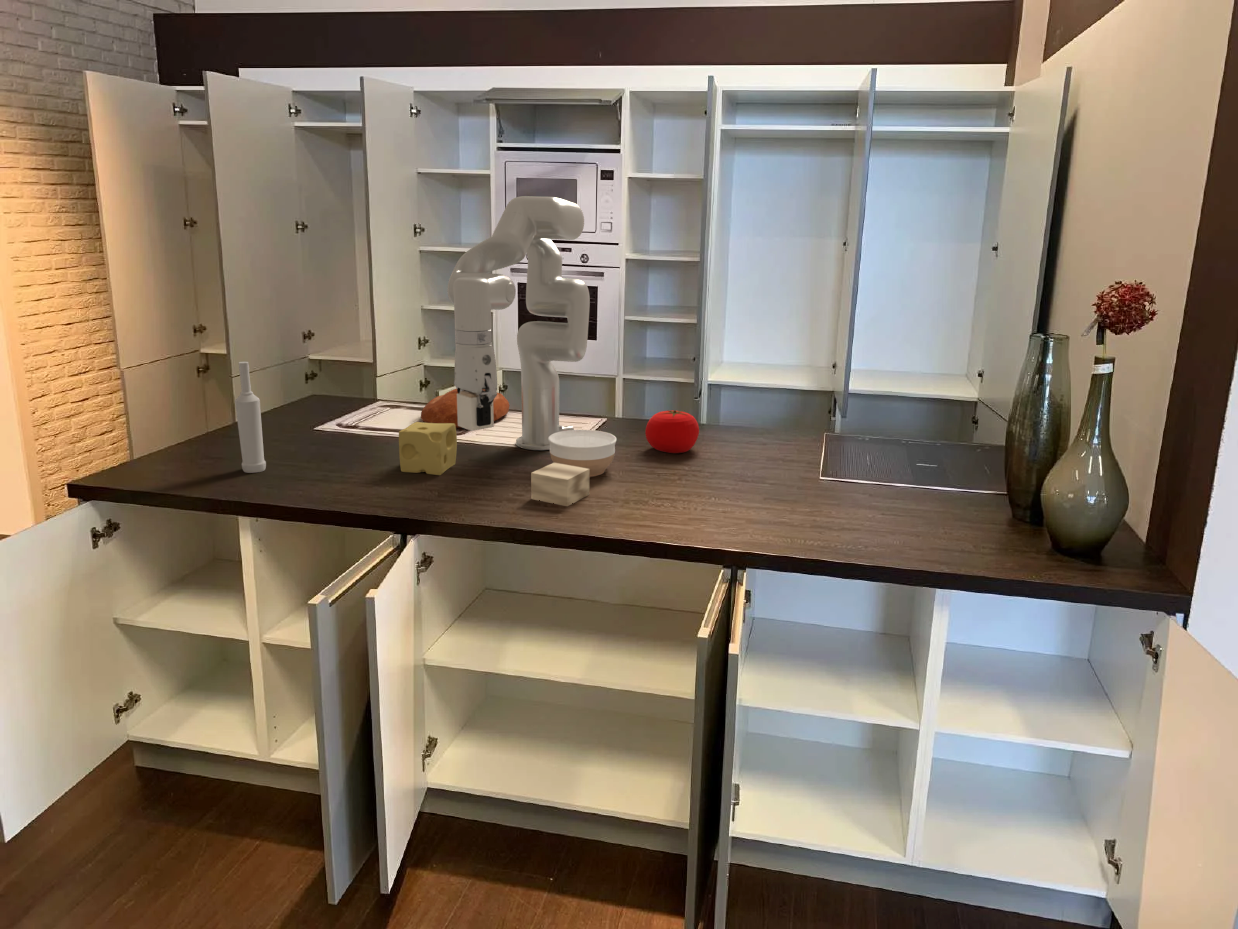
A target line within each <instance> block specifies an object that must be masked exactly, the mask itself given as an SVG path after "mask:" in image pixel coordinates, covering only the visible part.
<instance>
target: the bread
mask: <svg viewBox="0 0 1238 929" xmlns="http://www.w3.org/2000/svg"><path fill="white" fill-rule="evenodd" d="M483 390H484V389H483ZM484 391H485V390H484ZM457 394H458V392H457V388H456V387H455V388H454V389H451V390H450V391H448V392H446V393H444V394H441V395H438V396H435V397H434V398H432V399H430V400H429V401H428V402H427V403H426V404H425V406H424V407H423V408H422V410H421V412H420V419H421V421H422V422H423V423H454V424H455V427H456V429H463V428H462V427H460V426H458V415H457ZM509 411H510V402H509V400H508V399H506V397H505V396H504V395H503V394H502V393H499V392H497V396H496V397H495V398H494V400H493V414H494V422H495V421H498V420H499V419H501V418H503V417H505V416H506V415H507V414H508V412H509Z"/></svg>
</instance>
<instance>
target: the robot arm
mask: <svg viewBox="0 0 1238 929" xmlns="http://www.w3.org/2000/svg"><path fill="white" fill-rule="evenodd" d="M584 227H585V217H584V212H583V210H582V208H581V207H580V206H579V205H578V203H575V202H572V201H569V200H567V199H563V198H559V197H555V196H531V195H530V196H528V195H524V196H516V197H514V198H512V199H511V200H510V201H509V202H508V203H507V205H506V206H505V208H504V210H503V212H502V214H501V216H500V218H499V220H498V223H497V224H496V227H495V228H494V231H493V233H492V235H491V236H490V237H488V238H486V239H484V240H482V241H481V242H479V243H478V244H476V245H475V246H473V247H471V248H470V249H467V251H466V252H464V254H462V255H461V256H460V257H459V259H457V260H458V261H457V262H456V264H455V266H454V268H453V269H452V272H451V275H450V276H449V279H448V283H447V296H448V299H449V301H450V302H451V304H452V305H453V312H454V336H455V338H454V341H455V342H454V343H455V344H454V345H455V348H454V349H455V351H454V380H453V384H454V387H455V389H456V388H457V392H458V394H459V393H460V391H464V390H465V391H468V392H472V393H475V394H476V397H477V403H478V407H477V408H476V412H477V426H485V425H490V424H491V406H492V402H493V400H494V398H495V397H496V396H497V393H498V392H497V391H498V372H497V370H498V369H497V362H496V355H495V350H494V346H493V337H492V332H493V331H492V310H498V311H499V310H506V309H507V308H509V307H510V306H511V305H512V304H513V302H515V301H514V300H515V298H516V285H515V283H514V281H513V279H512V278H510V277H509V276H508V275H506V274H501V273H491V272H493V271H494V272H495V271H497V270H502V269H505V268H508V267H511V266H514V265H516V264H518V263H520V262H522V261H523V260H524V259H525V257H526V256H527V273H526V274H527V275H526V286H525V287H526V288H525V289H526V290H525V304H526V309H527V311H528V313H530V314H532V315H534V316H535V315H536V316H541V317H552V318H553V317H555V318H567V322H554V321H544V320H543V321H542V320H537V321H535V320H534V321H528V322H525V323H523V324H522V325H521V326H520V327H519V328H518V331H517V334H516V344H517V345H516V346H517V348H518V354H519V359H520V360H519V362H520V374H521V375H520V376H521V377H520V379H521V386H520V387H521V435H520V436H519V437H517V439H516V440H515V444H516V446H517V447H519V448H521V449H525V450H529V451H530V450H531V451H550V443H549V441H548V438H549V436H550V435H552V434H554V433H557V432H561V431H567V430H575V428H574V426H573V425H566V426H563V425H560V378H559V377H560V376H559V373H558V371H557V369H556V368H555V366H554V364H553V363H552V362H553V361H554V362H564V363H567V362H568V363H578V362H580V361H582V360H583V359H584V357H585V356H586V352H587V347H588V339H589V338H588V336H589V323H590V322H589V320H590V307H591V306H590V305H591V304H590V302H591V301H590V291H589V288H588V285H587V284H586V282H584V280H582V279H578V278H570V277H569V278H566V277H565V278H564V277H563V276H562V275H563V274H562V273H563V270H562V269H563V256H562V254H561V252H560V250H559V248H558V247H557V245H556V244H555V242H553V240H563V241H573V240H577V239H578V238H580V236H581V234H582V233H583V230H584ZM483 389H484V390H485V392H482V390H483ZM482 395H485V397H484V399H483V400H482V397H481V396H482Z"/></svg>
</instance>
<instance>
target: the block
mask: <svg viewBox="0 0 1238 929" xmlns="http://www.w3.org/2000/svg"><path fill="white" fill-rule="evenodd" d="M530 473H531V474H530V481H531V483H530V487H531V488H530V489H531V490H530V492H531V494H530V496H531V500H535V501H539V500H540V502H544V503H550V504H553V503H554V505H558V506H564V507H569V506H571V505H573V504H574V503H577V502H578V501H580V500H582V499H584V498H586V497H587V496H589V495H590V477H589V473H590V469H587V468H582V467H576V466H571V465H565V464H560V463H553V462H552V463H550V464H547V465H545V466H543V467H541V468H539V469H537V470H534V471H532V472H530ZM572 503H573V504H572Z"/></svg>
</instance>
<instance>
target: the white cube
mask: <svg viewBox="0 0 1238 929" xmlns="http://www.w3.org/2000/svg"><path fill="white" fill-rule="evenodd" d="M482 392H485V391H484V390H482ZM481 397H482V400H483V399H484V397H485V395H482V396H481ZM477 407H478V403H477V397H476V394H475V393H472V392H468V391H465V390H464V391H460V393H459V394H457V415H458V426H460V427H462V428H461V429H464V430H465V429H466V430H468V431H471V432H473V431H479V430H484V429H485V430H486V429H490V428H494V426H495V423H494V422H495V421H494V414H493V402H492V406H491V424H490V425H485V426H477V412H476V408H477Z"/></svg>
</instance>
